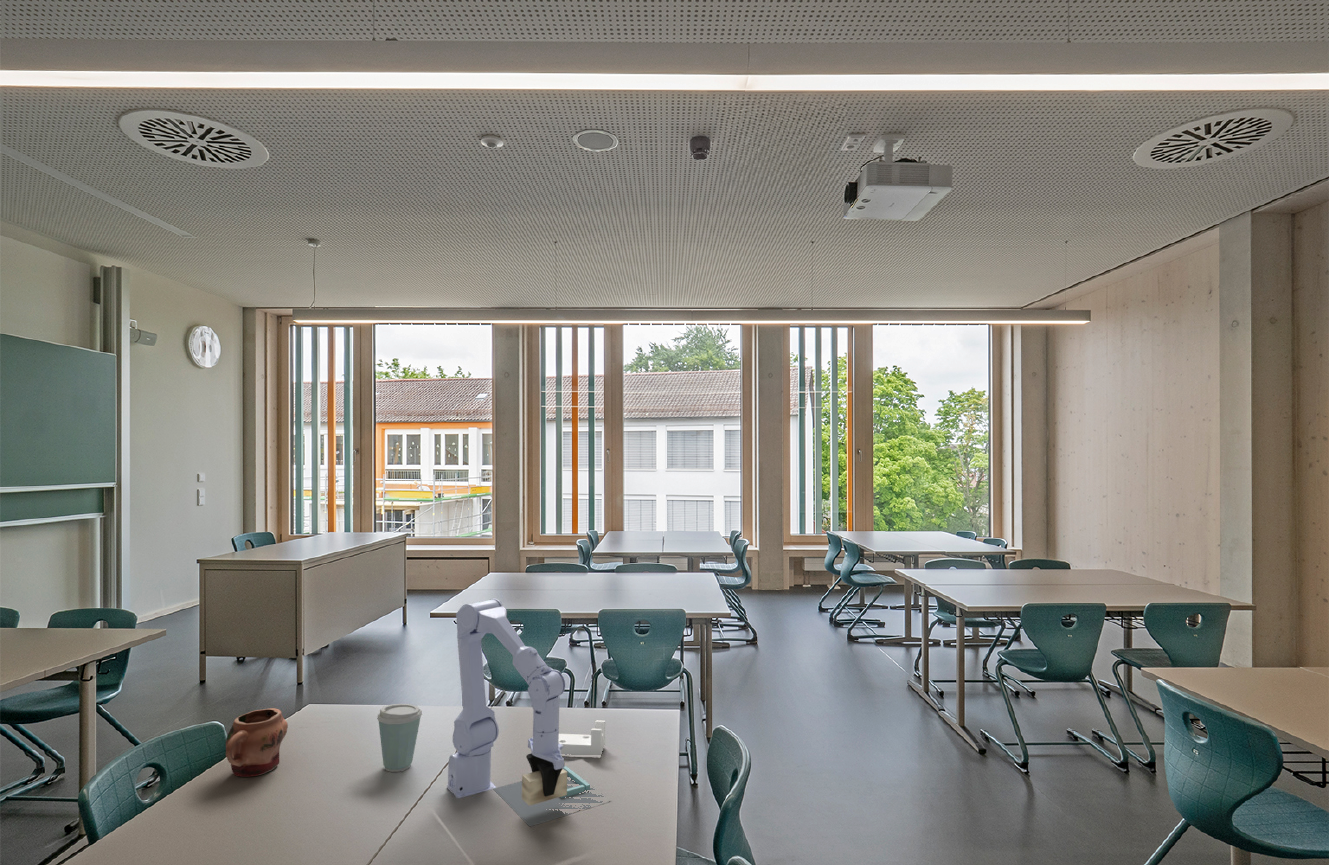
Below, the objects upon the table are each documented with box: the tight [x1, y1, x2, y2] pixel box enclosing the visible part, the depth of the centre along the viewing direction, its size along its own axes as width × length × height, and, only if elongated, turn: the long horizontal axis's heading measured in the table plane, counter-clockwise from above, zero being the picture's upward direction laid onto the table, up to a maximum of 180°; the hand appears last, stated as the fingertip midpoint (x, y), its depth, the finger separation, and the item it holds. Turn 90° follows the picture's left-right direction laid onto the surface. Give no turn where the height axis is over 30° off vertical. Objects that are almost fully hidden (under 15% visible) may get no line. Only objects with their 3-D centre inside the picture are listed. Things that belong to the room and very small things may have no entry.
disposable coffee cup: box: [377, 703, 423, 773], centre depth 177 cm, size 11×11×15 cm
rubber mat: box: [493, 776, 605, 828], centre depth 161 cm, size 20×21×1 cm
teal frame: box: [561, 765, 591, 798], centre depth 167 cm, size 8×12×1 cm, turn 35°
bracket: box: [559, 719, 606, 755], centre depth 188 cm, size 13×7×8 cm, turn 85°
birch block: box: [521, 769, 567, 806], centre depth 154 cm, size 9×4×5 cm, turn 125°
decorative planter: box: [225, 707, 289, 778], centre depth 173 cm, size 20×12×14 cm, turn 2°
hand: (544, 790), depth 154 cm, fingers closed on birch block, 4 cm apart
